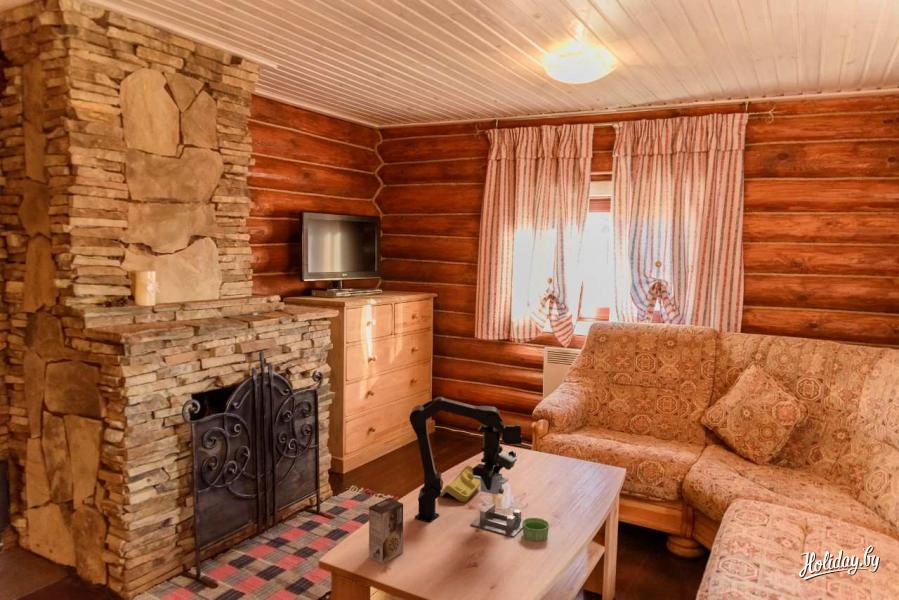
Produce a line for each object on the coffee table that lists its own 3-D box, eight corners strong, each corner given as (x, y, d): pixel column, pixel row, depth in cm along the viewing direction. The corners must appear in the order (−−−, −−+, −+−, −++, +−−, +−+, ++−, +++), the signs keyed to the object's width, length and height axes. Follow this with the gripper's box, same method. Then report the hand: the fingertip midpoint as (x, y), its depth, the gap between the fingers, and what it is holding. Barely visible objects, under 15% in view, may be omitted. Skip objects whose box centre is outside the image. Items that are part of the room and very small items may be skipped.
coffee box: (388, 546, 195) (389, 497, 193) (403, 553, 191) (404, 502, 189) (367, 557, 188) (368, 506, 186) (382, 564, 184) (383, 512, 182)
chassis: (513, 537, 202) (513, 524, 202) (470, 525, 210) (470, 512, 210) (529, 521, 214) (530, 508, 214) (488, 510, 222) (488, 498, 222)
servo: (503, 496, 209) (503, 476, 209) (474, 490, 215) (474, 471, 214) (508, 491, 213) (508, 472, 212) (479, 486, 218) (479, 467, 217)
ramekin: (552, 534, 205) (553, 521, 205) (542, 545, 198) (543, 532, 197) (528, 527, 210) (528, 515, 209) (517, 538, 202) (517, 525, 202)
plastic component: (466, 498, 227) (444, 482, 230) (459, 513, 229) (437, 497, 233) (486, 476, 245) (465, 462, 248) (479, 490, 247) (458, 476, 250)
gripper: (502, 456, 200) (502, 502, 202) (523, 439, 217) (522, 482, 218) (471, 450, 205) (471, 495, 207) (494, 435, 222) (494, 477, 223)
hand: (491, 487), depth 214 cm, fingers closed on servo, 4 cm apart
